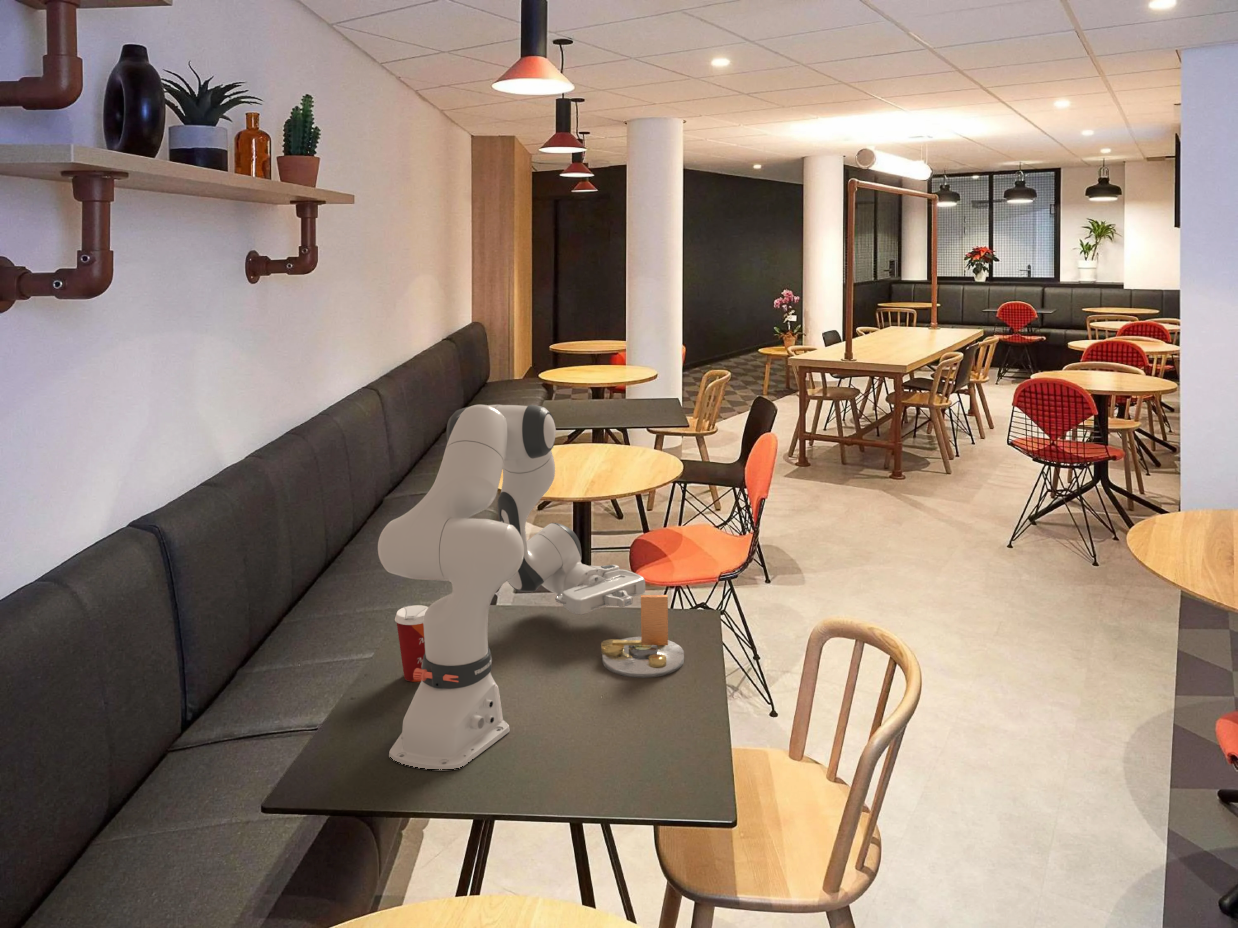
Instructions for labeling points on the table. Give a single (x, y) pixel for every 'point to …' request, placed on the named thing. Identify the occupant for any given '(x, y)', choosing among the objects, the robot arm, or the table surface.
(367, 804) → the table surface
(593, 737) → the table surface
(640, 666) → the levelling base
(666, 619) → the vane knob
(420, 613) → the paper cup
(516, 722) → the table surface
